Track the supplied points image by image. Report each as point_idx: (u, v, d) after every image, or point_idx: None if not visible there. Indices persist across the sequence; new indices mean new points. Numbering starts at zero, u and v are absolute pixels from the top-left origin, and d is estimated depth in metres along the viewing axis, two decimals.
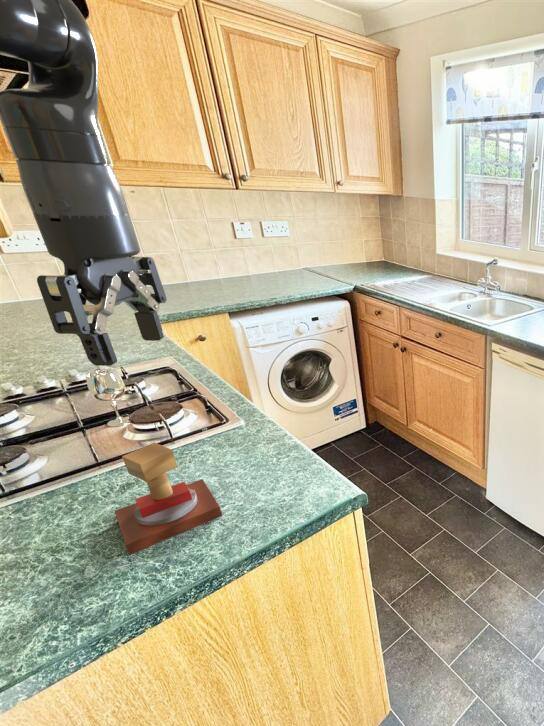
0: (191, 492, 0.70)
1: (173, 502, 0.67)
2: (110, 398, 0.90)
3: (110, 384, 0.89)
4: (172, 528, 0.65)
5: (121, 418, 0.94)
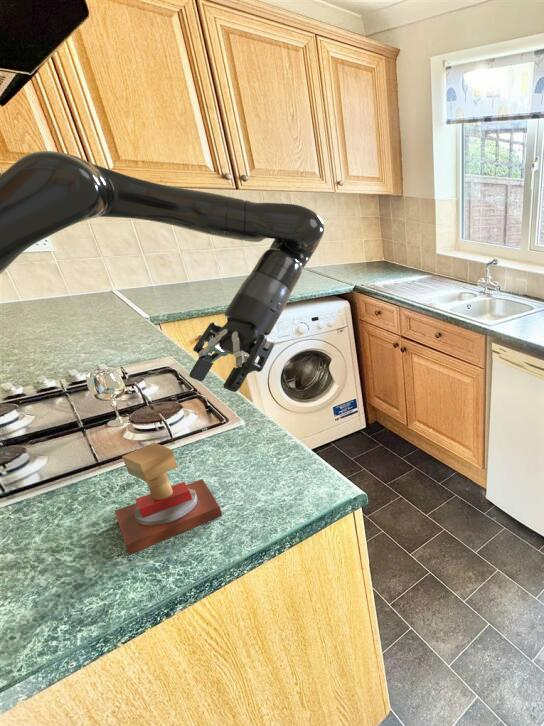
0: (191, 492, 0.70)
1: (173, 502, 0.67)
2: (110, 398, 0.90)
3: (110, 384, 0.89)
4: (172, 528, 0.65)
5: (121, 418, 0.94)
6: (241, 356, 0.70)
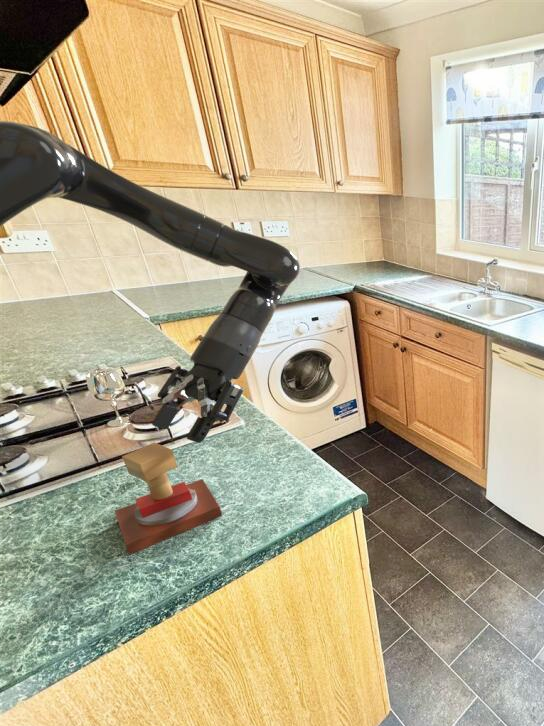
0: (191, 492, 0.70)
1: (173, 502, 0.67)
2: (110, 398, 0.90)
3: (110, 384, 0.89)
4: (172, 528, 0.65)
5: (121, 418, 0.94)
6: (207, 404, 0.66)
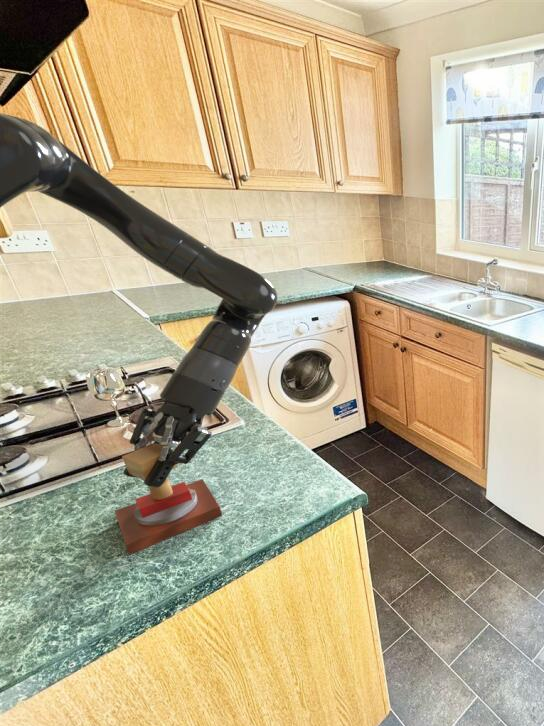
0: (191, 492, 0.70)
1: (173, 502, 0.67)
2: (110, 398, 0.90)
3: (110, 384, 0.89)
4: (172, 528, 0.65)
5: (121, 418, 0.94)
6: (168, 448, 0.63)
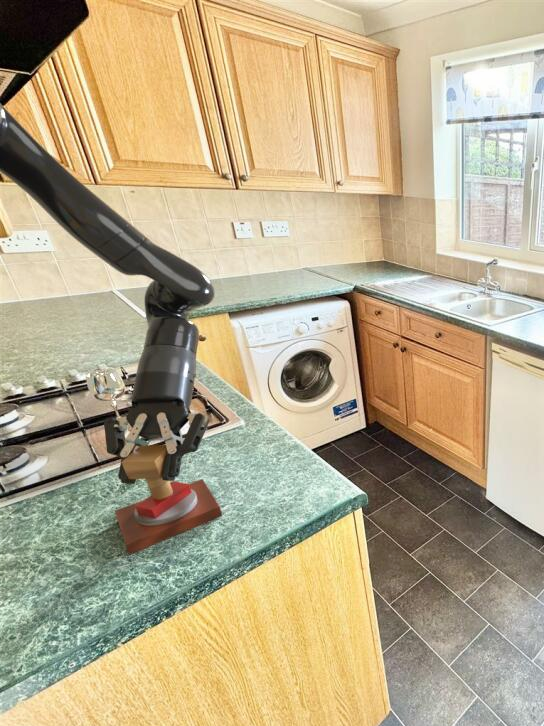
0: None
1: (177, 498, 0.68)
2: (110, 398, 0.90)
3: (110, 384, 0.89)
4: (172, 528, 0.65)
5: None
6: (174, 441, 0.65)
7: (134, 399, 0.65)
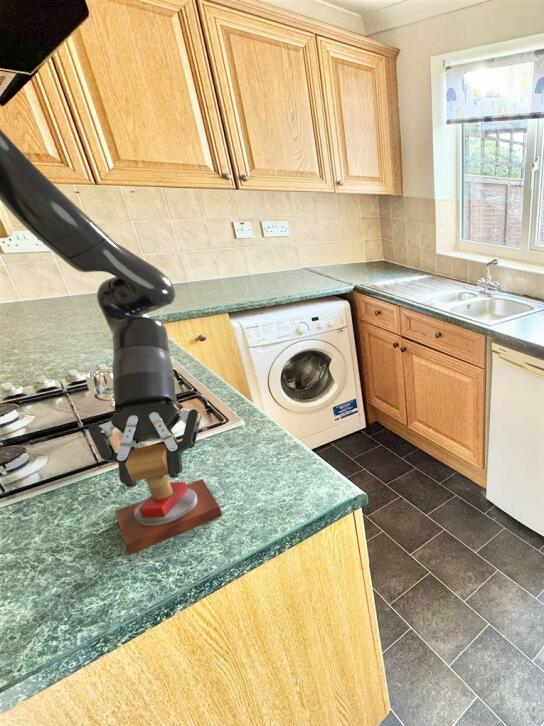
0: None
1: (178, 496, 0.69)
2: (110, 398, 0.90)
3: (110, 384, 0.89)
4: (172, 528, 0.65)
5: None
6: (172, 438, 0.66)
7: (120, 402, 0.64)
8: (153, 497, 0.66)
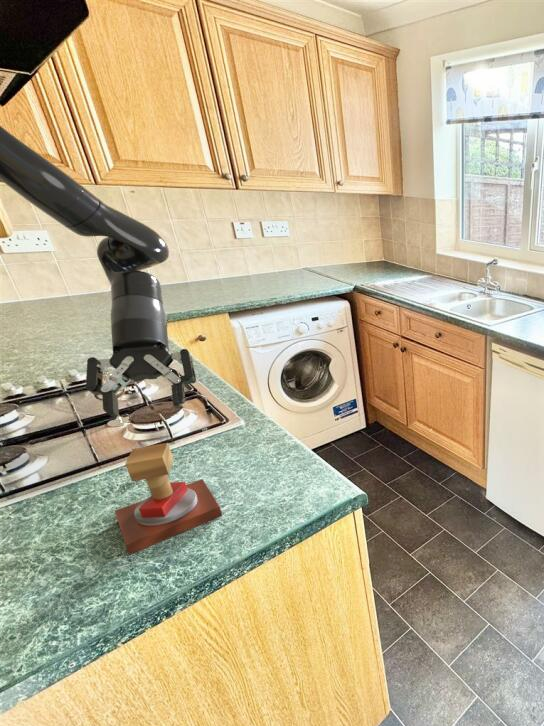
0: None
1: (178, 496, 0.69)
2: None
3: None
4: (172, 528, 0.65)
5: (121, 418, 0.94)
6: (173, 373, 0.74)
7: (118, 344, 0.71)
8: (153, 497, 0.66)
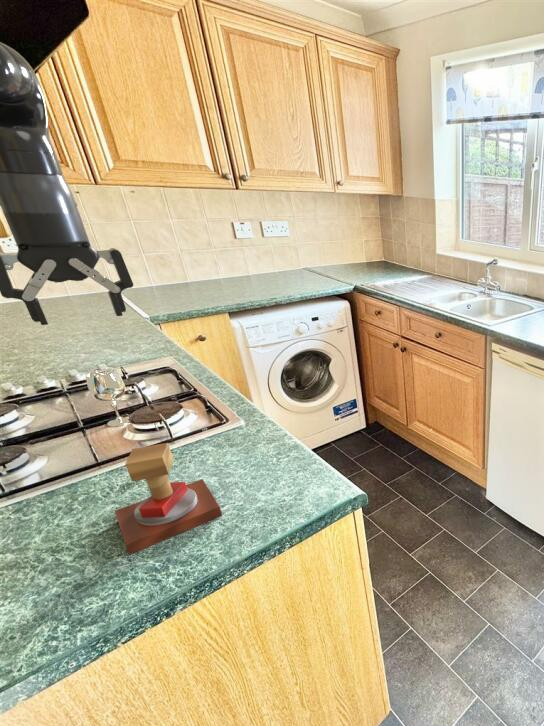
0: None
1: (178, 496, 0.69)
2: (110, 398, 0.90)
3: (110, 384, 0.89)
4: (172, 528, 0.65)
5: (121, 418, 0.94)
6: (109, 280, 0.66)
7: (31, 245, 0.58)
8: (153, 497, 0.66)
